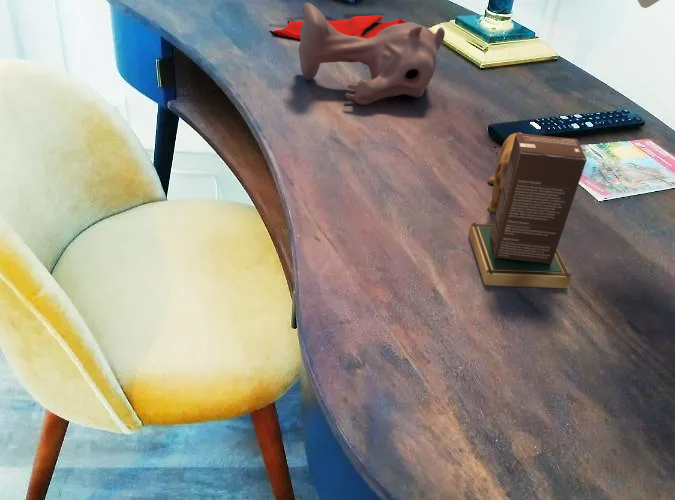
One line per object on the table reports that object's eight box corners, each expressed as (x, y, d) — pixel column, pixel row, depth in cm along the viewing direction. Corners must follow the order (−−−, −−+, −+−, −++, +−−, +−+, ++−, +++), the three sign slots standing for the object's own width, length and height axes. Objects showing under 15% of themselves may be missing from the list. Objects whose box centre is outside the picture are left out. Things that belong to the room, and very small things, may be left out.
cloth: (273, 47, 108) (273, 34, 107) (266, 19, 119) (266, 6, 117) (422, 48, 113) (424, 35, 112) (402, 21, 124) (404, 9, 122)
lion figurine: (537, 234, 71) (560, 164, 66) (489, 229, 71) (508, 158, 66) (519, 166, 83) (537, 101, 77) (477, 162, 83) (493, 97, 77)
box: (544, 239, 68) (579, 137, 60) (551, 266, 64) (589, 161, 57) (487, 232, 68) (515, 129, 61) (491, 259, 64) (521, 153, 57)
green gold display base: (543, 237, 71) (547, 225, 70) (567, 288, 64) (571, 276, 63) (468, 234, 70) (471, 222, 69) (484, 285, 64) (487, 273, 63)
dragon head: (314, 78, 84) (461, 65, 87) (299, -8, 87) (440, -18, 90) (307, 128, 97) (434, 115, 100) (294, 50, 100) (417, 40, 103)
